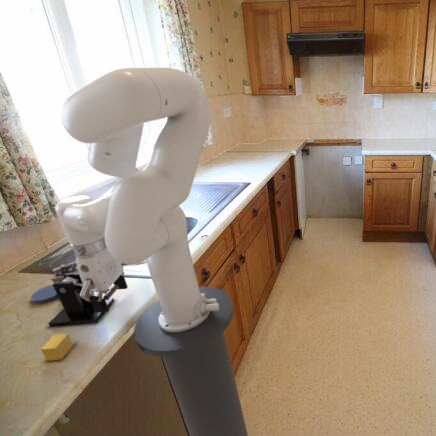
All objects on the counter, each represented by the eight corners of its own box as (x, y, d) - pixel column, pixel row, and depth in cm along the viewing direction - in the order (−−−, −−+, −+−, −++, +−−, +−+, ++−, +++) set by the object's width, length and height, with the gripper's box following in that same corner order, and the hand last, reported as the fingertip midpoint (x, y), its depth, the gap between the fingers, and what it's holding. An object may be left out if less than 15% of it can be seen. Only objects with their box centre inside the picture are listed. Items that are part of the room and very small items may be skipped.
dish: (71, 286, 101) (70, 282, 101) (54, 302, 94) (52, 299, 93) (45, 287, 101) (43, 284, 100) (25, 304, 93) (23, 301, 93)
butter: (60, 346, 78) (54, 335, 77) (73, 344, 79) (68, 333, 77) (47, 360, 74) (40, 349, 73) (61, 359, 75) (55, 348, 73)
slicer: (114, 301, 93) (101, 266, 88) (96, 323, 85) (80, 286, 80) (72, 304, 93) (55, 270, 88) (49, 326, 85) (30, 290, 80)
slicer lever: (118, 290, 90) (119, 283, 89) (108, 302, 85) (109, 295, 84) (70, 280, 87) (70, 273, 86) (57, 292, 83) (57, 284, 82)
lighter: (60, 301, 94) (46, 273, 90) (60, 296, 97) (46, 268, 92) (93, 290, 99) (81, 262, 94) (92, 285, 101) (80, 257, 97)
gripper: (85, 262, 73) (109, 320, 80) (123, 228, 89) (141, 279, 96) (50, 265, 73) (78, 323, 80) (95, 230, 88) (115, 281, 95)
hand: (112, 299), depth 88 cm, fingers open, 9 cm apart
